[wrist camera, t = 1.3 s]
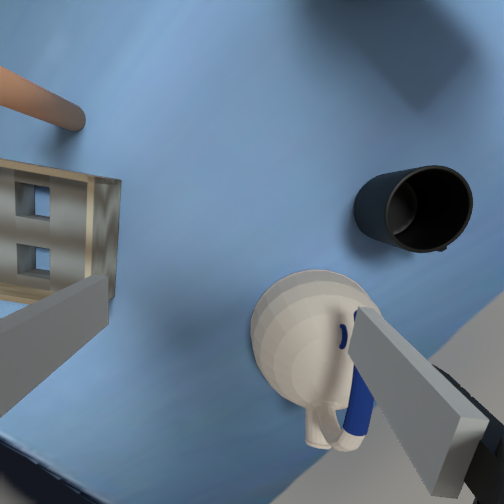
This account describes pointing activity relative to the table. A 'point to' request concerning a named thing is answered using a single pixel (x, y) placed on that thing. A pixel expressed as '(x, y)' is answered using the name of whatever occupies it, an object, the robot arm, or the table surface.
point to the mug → (415, 208)
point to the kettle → (315, 353)
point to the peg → (38, 102)
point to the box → (55, 230)
